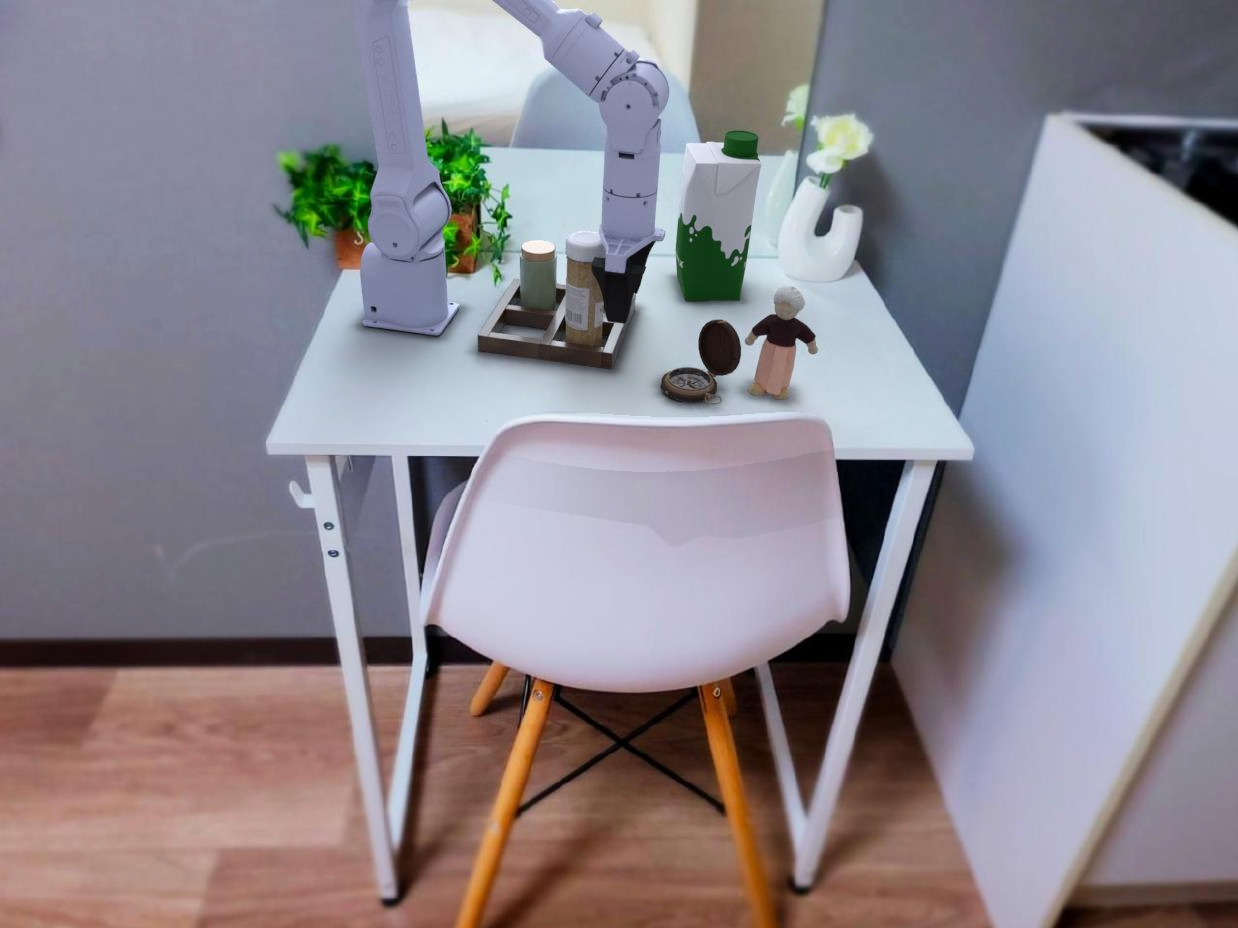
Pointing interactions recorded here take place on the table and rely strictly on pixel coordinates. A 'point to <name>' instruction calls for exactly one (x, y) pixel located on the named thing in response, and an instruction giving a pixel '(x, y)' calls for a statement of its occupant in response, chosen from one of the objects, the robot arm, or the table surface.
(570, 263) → the sprinkles bottle
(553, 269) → the spice jar
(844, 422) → the table surface
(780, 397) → the grandmother figurine
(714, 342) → the compass
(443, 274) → the robot arm
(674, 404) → the table surface
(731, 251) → the milk carton
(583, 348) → the holder
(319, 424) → the table surface
